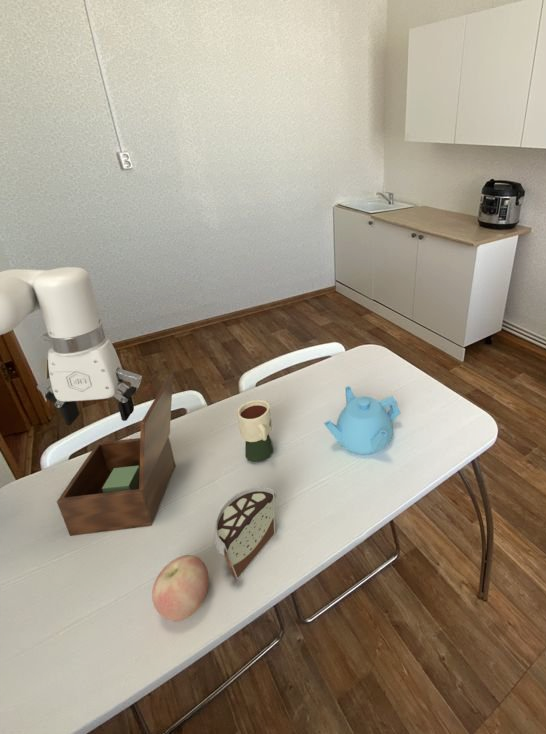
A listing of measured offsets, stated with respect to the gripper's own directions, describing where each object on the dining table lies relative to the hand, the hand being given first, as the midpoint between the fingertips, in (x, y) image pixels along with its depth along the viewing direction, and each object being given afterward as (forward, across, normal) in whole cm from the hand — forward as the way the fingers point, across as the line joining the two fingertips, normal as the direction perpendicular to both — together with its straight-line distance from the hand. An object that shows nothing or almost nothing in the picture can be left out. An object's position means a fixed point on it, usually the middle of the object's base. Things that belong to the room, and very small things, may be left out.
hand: (100, 418), depth 72 cm
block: (+20, +1, 0) cm, 20 cm away
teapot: (+20, +52, +10) cm, 56 cm away
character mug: (+20, +27, +8) cm, 35 cm away
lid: (+4, +9, 0) cm, 10 cm away
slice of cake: (+20, +27, -14) cm, 36 cm away
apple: (+20, +19, -22) cm, 35 cm away
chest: (+21, +1, 0) cm, 21 cm away
